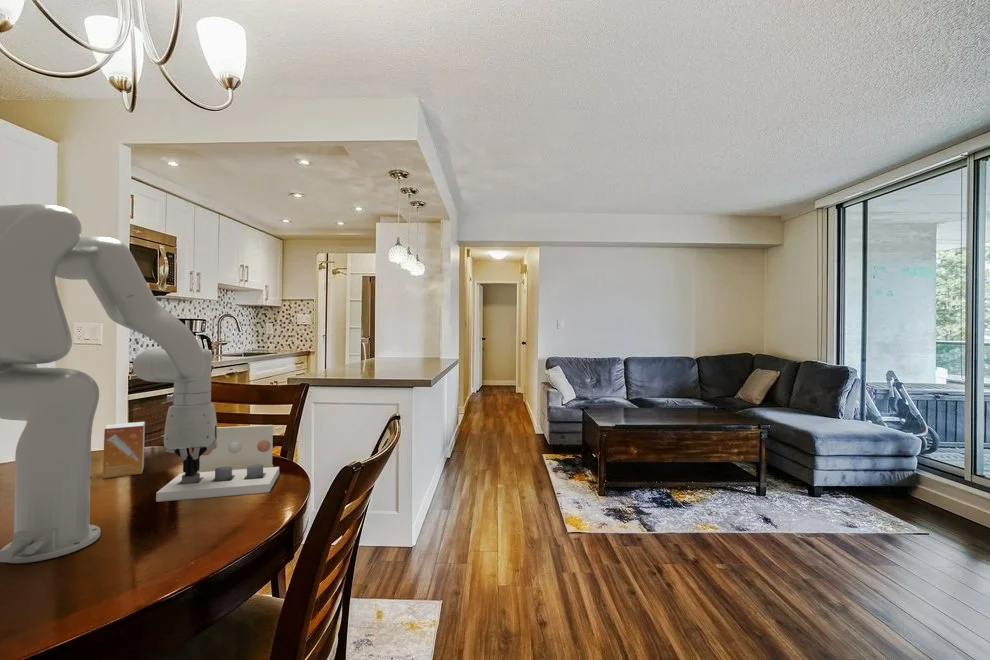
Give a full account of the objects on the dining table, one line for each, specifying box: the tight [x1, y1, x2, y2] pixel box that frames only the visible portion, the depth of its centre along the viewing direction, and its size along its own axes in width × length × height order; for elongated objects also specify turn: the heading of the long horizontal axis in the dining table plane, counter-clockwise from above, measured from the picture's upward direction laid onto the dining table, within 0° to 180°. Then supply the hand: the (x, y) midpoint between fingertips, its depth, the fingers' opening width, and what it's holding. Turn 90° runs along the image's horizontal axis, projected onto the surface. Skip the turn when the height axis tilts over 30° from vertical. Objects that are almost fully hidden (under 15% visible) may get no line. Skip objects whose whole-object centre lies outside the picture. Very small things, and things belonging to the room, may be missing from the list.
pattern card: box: [197, 424, 274, 472], centre depth 120 cm, size 4×18×12 cm, turn 107°
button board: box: [155, 466, 280, 502], centre depth 109 cm, size 14×23×2 cm, turn 107°
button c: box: [247, 464, 263, 479], centre depth 111 cm, size 4×4×3 cm
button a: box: [182, 473, 200, 484], centre depth 107 cm, size 4×4×3 cm
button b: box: [215, 466, 232, 482], centre depth 109 cm, size 4×4×3 cm
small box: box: [102, 421, 146, 479], centre depth 118 cm, size 8×6×13 cm
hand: (191, 474), depth 107 cm, fingers closed
